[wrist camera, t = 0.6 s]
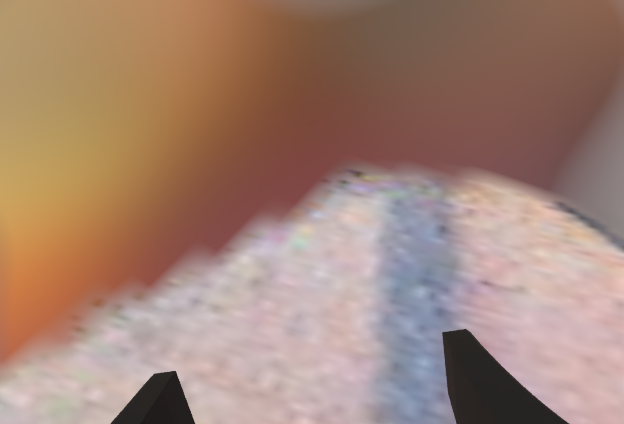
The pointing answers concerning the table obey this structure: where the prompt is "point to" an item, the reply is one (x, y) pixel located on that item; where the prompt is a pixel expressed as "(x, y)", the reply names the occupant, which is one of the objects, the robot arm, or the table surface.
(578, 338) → the table surface
